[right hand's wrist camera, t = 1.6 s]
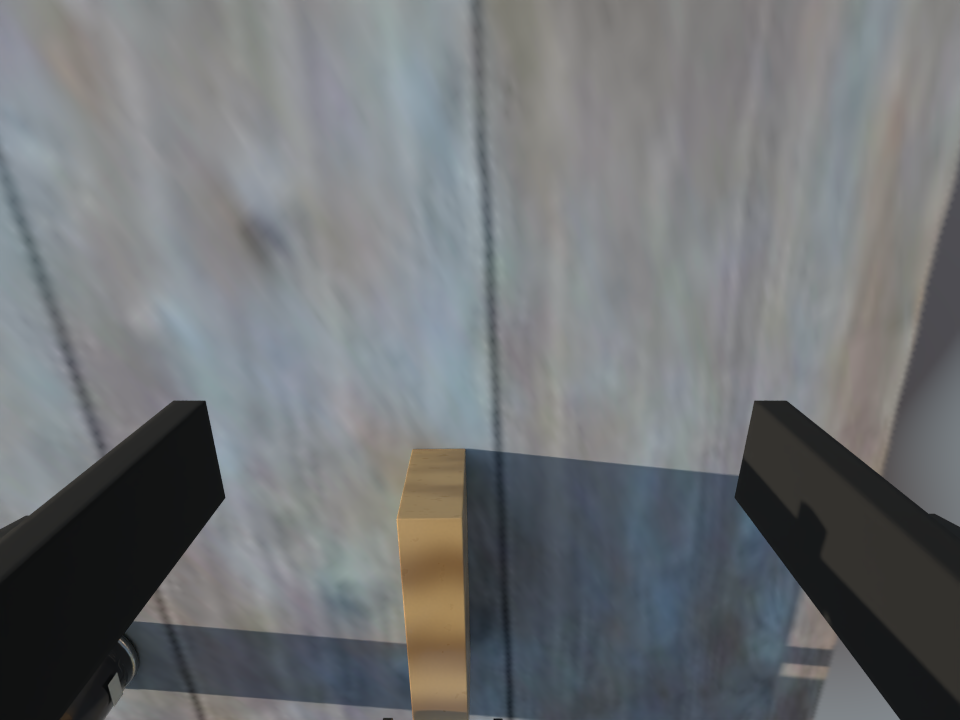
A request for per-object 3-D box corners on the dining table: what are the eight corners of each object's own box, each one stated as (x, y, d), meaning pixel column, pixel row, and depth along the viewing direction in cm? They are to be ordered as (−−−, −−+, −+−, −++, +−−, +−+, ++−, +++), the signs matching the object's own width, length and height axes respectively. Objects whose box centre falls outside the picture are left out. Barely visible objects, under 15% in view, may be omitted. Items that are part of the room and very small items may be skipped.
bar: (412, 449, 44) (396, 518, 35) (465, 448, 44) (462, 518, 35) (425, 652, 52) (415, 749, 44) (470, 652, 52) (468, 749, 44)
